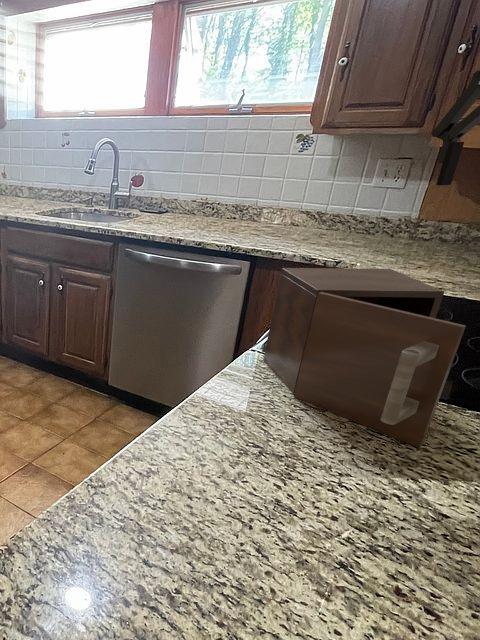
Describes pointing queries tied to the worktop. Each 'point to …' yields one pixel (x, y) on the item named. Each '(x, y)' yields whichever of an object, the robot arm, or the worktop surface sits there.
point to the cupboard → (356, 284)
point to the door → (377, 365)
